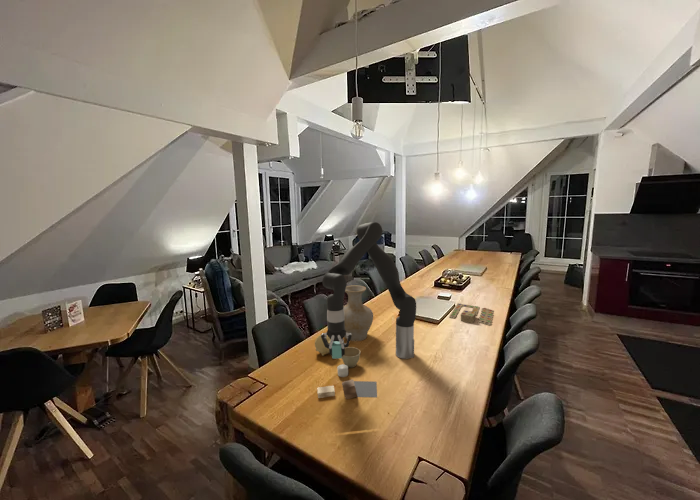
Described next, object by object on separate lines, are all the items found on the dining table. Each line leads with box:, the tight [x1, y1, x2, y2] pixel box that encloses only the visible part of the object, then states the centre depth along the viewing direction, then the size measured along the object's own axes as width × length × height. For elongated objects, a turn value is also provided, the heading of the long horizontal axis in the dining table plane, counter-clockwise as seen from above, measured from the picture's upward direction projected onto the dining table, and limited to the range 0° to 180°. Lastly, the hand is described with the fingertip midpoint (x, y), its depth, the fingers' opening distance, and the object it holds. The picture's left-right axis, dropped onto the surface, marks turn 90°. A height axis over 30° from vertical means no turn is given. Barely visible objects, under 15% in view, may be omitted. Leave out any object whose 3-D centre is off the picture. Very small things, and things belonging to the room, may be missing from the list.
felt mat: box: [354, 380, 378, 398], centre depth 129 cm, size 11×11×1 cm
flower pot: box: [341, 346, 361, 369], centre depth 149 cm, size 10×10×7 cm
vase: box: [343, 284, 374, 342], centre depth 179 cm, size 22×22×30 cm
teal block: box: [331, 341, 342, 360], centre depth 131 cm, size 4×4×6 cm
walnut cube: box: [341, 378, 358, 400], centre depth 125 cm, size 5×5×5 cm
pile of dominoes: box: [448, 303, 494, 327], centre depth 213 cm, size 35×27×6 cm
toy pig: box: [314, 334, 331, 357], centre depth 160 cm, size 10×12×11 cm
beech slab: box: [316, 385, 336, 399], centre depth 126 cm, size 7×4×3 cm, turn 100°
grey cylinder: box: [336, 363, 349, 378], centre depth 140 cm, size 5×5×4 cm
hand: (337, 355), depth 131 cm, fingers closed on teal block, 4 cm apart
